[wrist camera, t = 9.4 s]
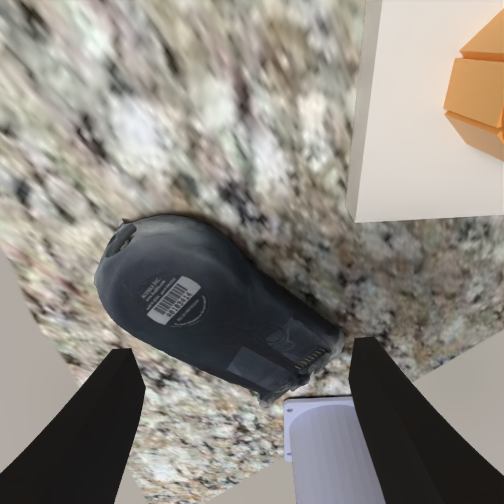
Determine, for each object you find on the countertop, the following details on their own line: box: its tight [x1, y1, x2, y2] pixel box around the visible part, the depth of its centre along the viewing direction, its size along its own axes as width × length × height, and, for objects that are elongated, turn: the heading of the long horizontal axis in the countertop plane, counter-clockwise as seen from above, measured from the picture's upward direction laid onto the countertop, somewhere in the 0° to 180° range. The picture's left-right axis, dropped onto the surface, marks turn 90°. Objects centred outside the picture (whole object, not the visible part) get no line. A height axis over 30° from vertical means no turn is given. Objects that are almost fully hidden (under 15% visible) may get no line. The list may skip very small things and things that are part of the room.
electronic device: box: [94, 215, 345, 407], centre depth 21 cm, size 9×6×15 cm
